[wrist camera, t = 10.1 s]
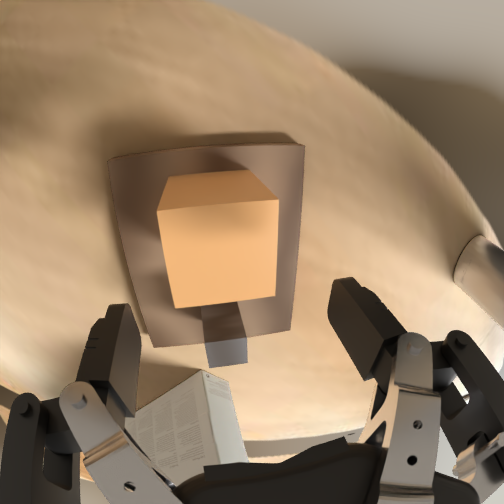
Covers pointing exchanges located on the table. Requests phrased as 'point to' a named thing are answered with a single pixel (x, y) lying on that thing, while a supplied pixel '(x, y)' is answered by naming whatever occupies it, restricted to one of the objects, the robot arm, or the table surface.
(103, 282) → the table surface
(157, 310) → the post board
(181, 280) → the peach wooden cube
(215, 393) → the skincare box
